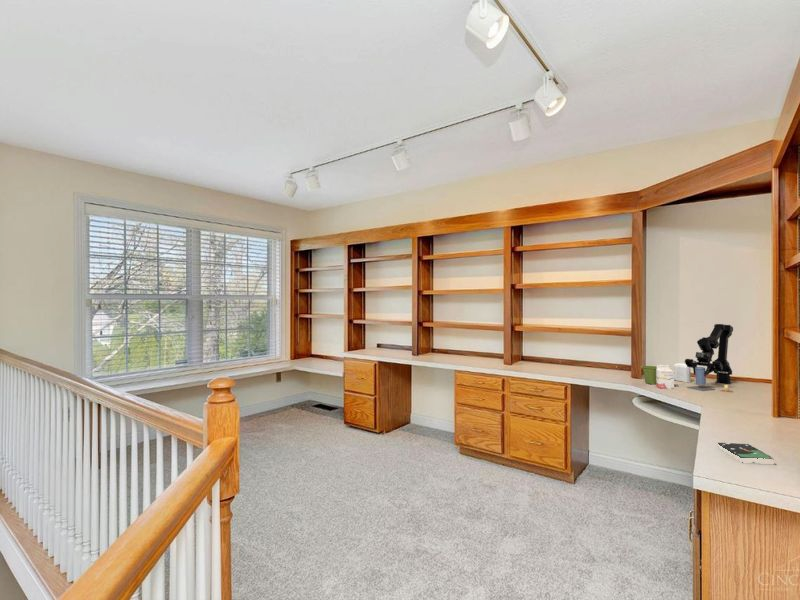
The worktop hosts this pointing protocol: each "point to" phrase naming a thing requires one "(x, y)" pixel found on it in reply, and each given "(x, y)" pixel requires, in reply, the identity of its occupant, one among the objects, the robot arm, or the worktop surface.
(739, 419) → the worktop surface
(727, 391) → the terracotta saucer
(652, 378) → the plant pot
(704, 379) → the domed octagonal peg
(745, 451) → the disk drive
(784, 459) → the worktop surface
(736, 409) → the worktop surface
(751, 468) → the worktop surface
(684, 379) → the photo printer
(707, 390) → the rubber mat
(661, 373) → the ink cartridge box
